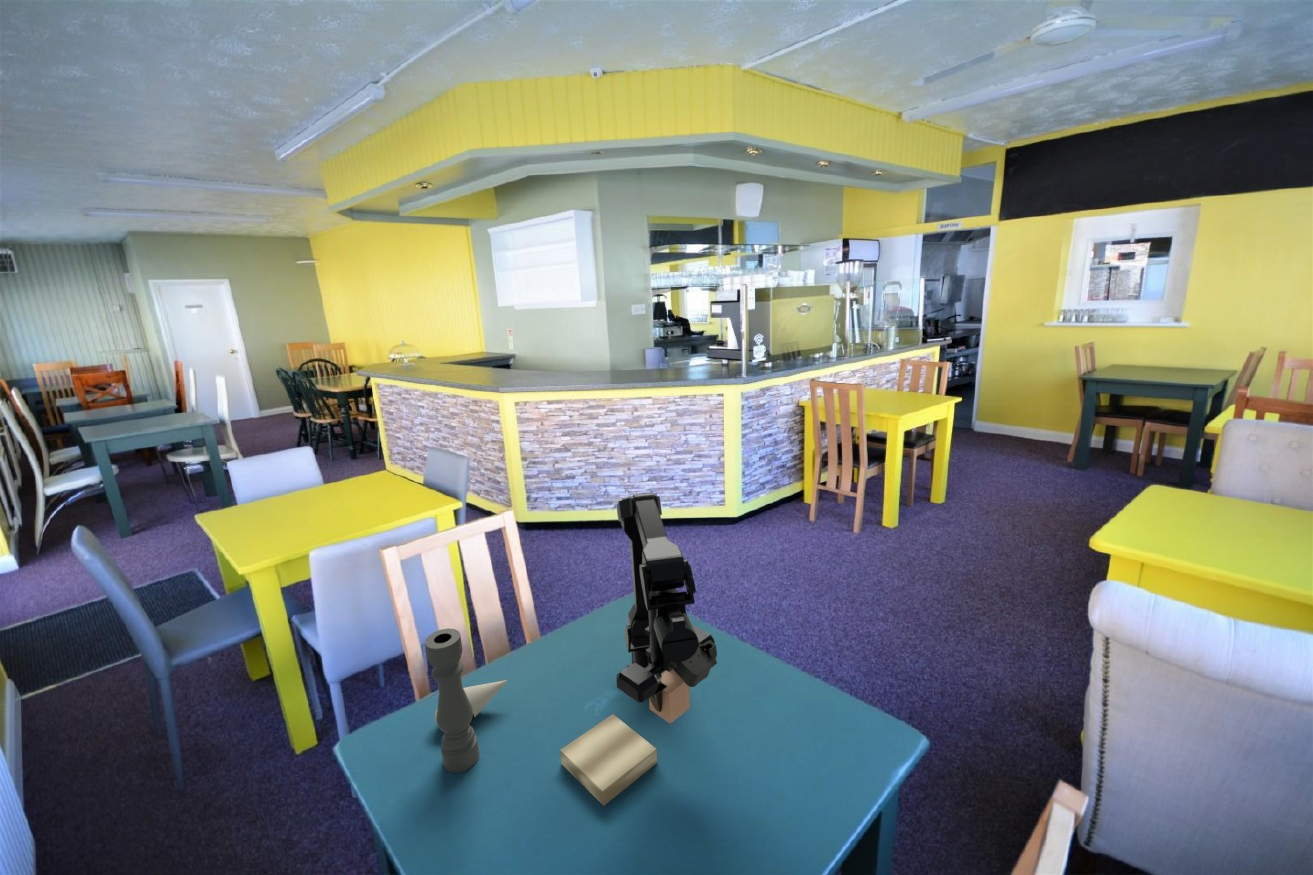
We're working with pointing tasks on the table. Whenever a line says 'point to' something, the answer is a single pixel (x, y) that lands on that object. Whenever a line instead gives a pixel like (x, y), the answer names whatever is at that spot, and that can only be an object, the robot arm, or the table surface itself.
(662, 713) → the terracotta block
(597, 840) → the table surface
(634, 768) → the birch base
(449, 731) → the candle holder
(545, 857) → the table surface
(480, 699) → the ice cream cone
